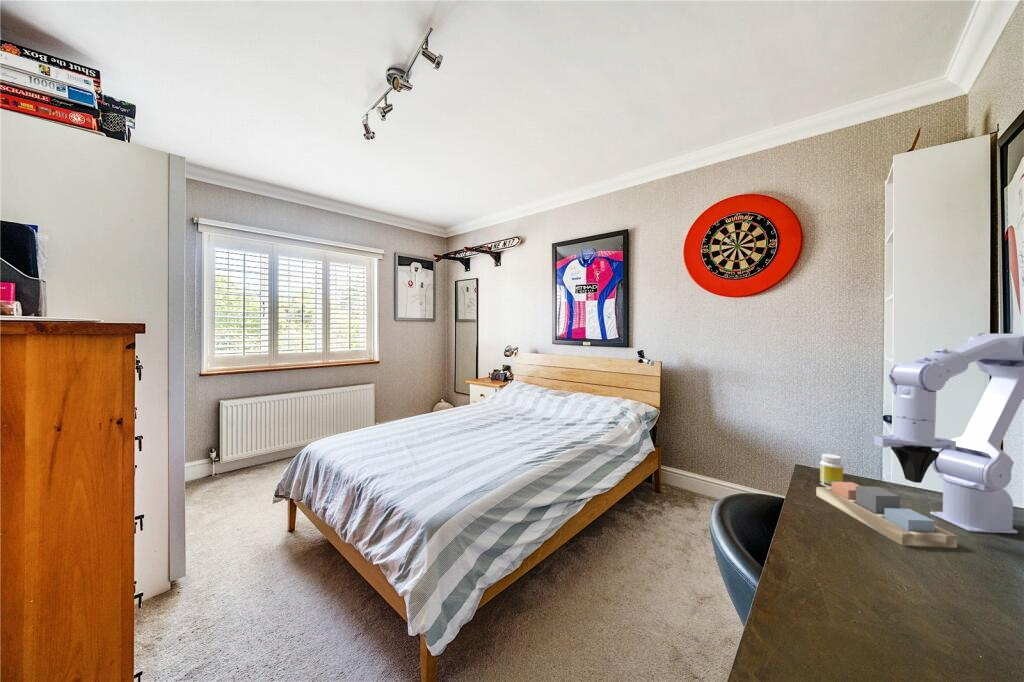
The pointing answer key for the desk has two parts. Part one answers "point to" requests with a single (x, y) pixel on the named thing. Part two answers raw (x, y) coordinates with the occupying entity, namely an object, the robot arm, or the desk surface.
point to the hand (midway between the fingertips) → (913, 480)
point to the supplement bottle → (830, 469)
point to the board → (888, 523)
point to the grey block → (876, 499)
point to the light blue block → (909, 520)
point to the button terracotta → (845, 489)
